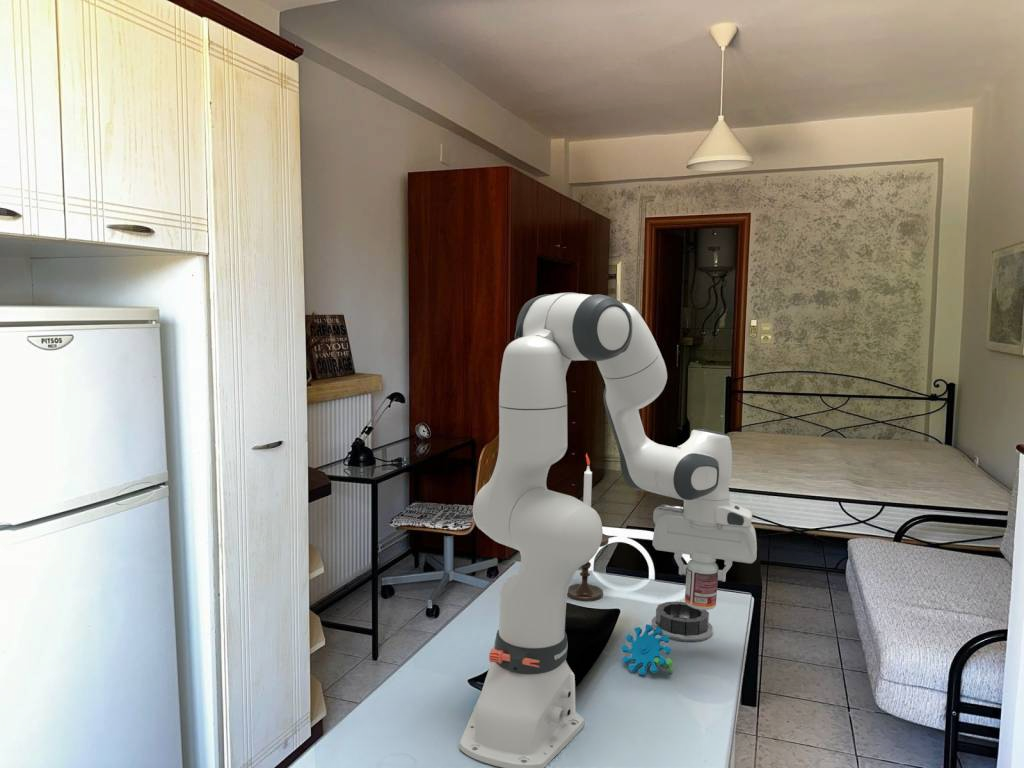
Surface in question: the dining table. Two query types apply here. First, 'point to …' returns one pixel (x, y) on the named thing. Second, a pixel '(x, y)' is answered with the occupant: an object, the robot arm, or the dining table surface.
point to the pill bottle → (701, 581)
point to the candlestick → (584, 589)
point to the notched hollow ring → (682, 622)
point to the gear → (647, 651)
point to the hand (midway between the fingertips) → (702, 577)
